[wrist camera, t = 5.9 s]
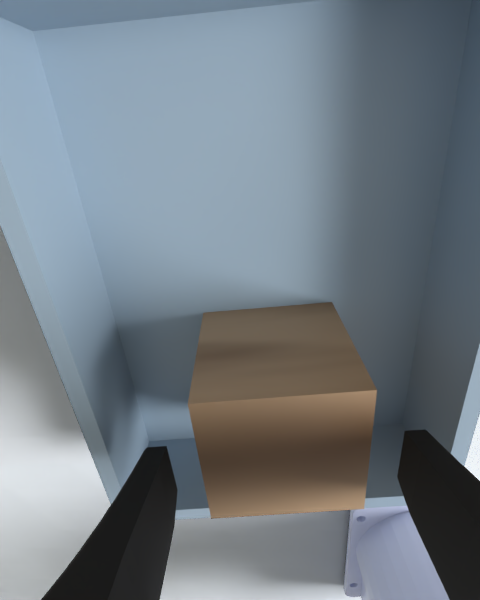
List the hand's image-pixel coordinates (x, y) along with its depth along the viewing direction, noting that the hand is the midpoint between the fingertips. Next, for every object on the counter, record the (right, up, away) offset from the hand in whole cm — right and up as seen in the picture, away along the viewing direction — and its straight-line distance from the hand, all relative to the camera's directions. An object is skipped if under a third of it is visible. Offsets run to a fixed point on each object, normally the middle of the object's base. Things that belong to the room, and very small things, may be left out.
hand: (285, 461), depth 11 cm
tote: (0, +6, +3) cm, 7 cm away
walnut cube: (0, +2, +4) cm, 5 cm away
